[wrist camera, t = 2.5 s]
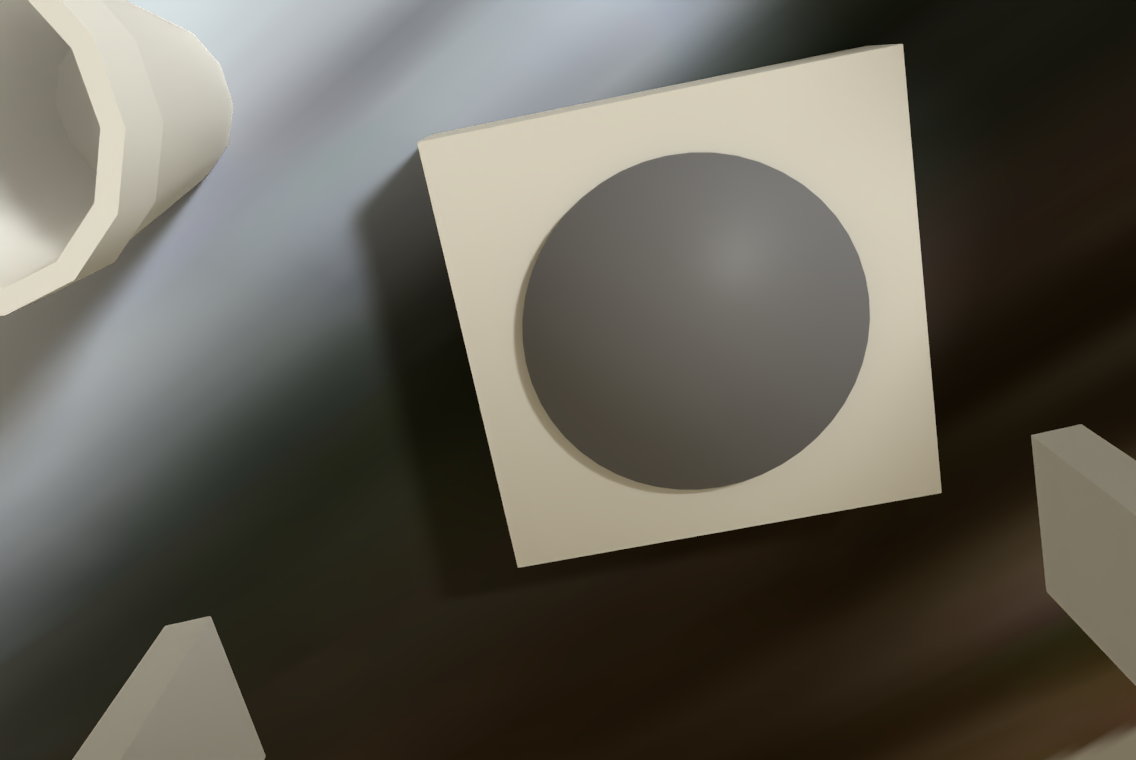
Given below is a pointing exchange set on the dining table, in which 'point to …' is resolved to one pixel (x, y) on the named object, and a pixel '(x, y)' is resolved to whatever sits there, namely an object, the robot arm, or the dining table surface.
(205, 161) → the foam cup
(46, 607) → the dining table surface
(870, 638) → the dining table surface
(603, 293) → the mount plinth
